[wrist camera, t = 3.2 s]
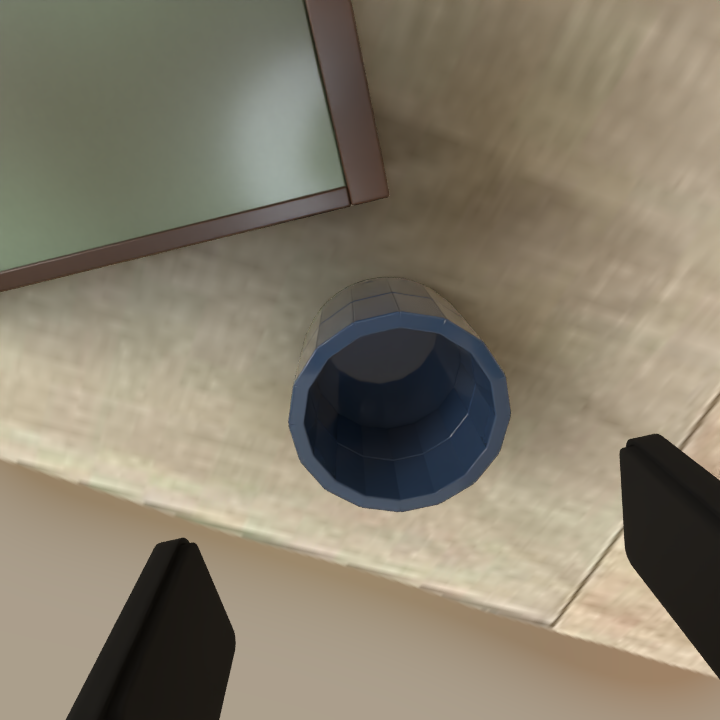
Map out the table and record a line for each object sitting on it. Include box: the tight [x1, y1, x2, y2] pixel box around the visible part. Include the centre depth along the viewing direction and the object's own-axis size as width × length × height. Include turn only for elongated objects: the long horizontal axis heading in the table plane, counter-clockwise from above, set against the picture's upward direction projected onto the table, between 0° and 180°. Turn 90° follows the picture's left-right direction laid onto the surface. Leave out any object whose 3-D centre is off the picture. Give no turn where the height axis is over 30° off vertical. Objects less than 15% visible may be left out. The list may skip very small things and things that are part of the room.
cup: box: [288, 277, 511, 512], centre depth 18 cm, size 7×7×6 cm
